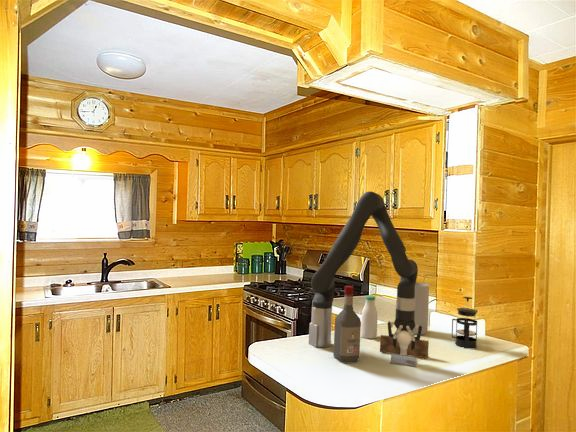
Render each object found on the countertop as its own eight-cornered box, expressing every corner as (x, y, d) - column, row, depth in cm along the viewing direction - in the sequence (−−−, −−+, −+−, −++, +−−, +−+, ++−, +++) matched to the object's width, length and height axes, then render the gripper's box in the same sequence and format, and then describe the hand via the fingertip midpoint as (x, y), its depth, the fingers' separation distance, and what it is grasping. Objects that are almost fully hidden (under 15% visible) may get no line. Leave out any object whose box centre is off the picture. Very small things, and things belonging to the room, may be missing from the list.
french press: (477, 344, 193) (479, 296, 192) (479, 350, 184) (481, 300, 184) (451, 340, 197) (452, 293, 197) (451, 346, 188) (453, 297, 188)
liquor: (361, 361, 163) (364, 288, 163) (341, 364, 160) (344, 288, 160) (350, 354, 172) (353, 284, 172) (331, 356, 168) (334, 284, 168)
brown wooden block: (379, 352, 175) (380, 336, 175) (380, 349, 180) (381, 333, 180) (428, 359, 169) (428, 342, 169) (427, 355, 174) (428, 339, 174)
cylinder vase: (424, 329, 215) (426, 282, 215) (429, 336, 203) (431, 286, 203) (400, 327, 217) (402, 281, 217) (404, 334, 205) (406, 285, 205)
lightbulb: (393, 353, 169) (394, 327, 169) (408, 353, 169) (408, 327, 169) (398, 358, 162) (399, 331, 162) (414, 358, 163) (414, 331, 163)
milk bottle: (376, 339, 194) (378, 298, 194) (360, 338, 195) (362, 297, 195) (376, 335, 201) (378, 295, 201) (360, 333, 203) (362, 294, 203)
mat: (390, 363, 162) (390, 362, 162) (391, 355, 172) (391, 354, 172) (416, 367, 160) (416, 365, 159) (415, 358, 169) (415, 357, 169)
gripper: (386, 308, 164) (385, 349, 164) (423, 311, 160) (422, 353, 160) (387, 304, 171) (386, 343, 171) (423, 307, 167) (421, 348, 167)
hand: (403, 348), depth 166 cm, fingers closed on lightbulb, 6 cm apart
